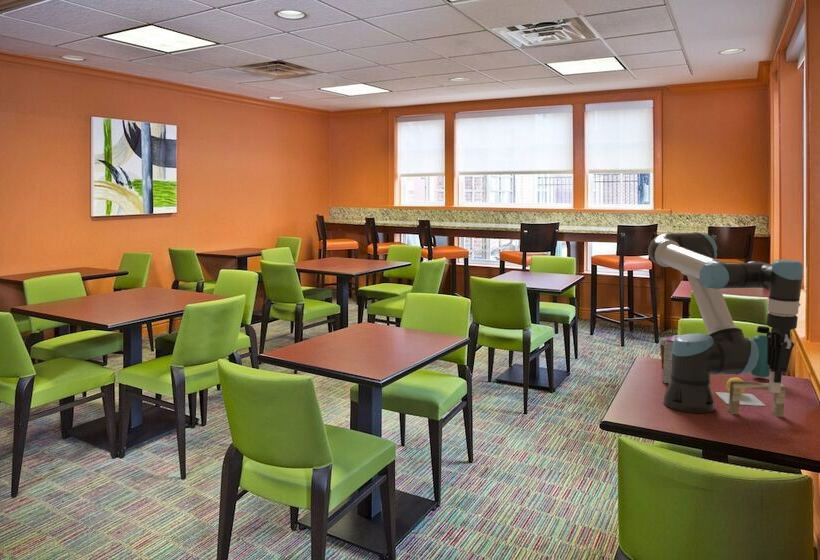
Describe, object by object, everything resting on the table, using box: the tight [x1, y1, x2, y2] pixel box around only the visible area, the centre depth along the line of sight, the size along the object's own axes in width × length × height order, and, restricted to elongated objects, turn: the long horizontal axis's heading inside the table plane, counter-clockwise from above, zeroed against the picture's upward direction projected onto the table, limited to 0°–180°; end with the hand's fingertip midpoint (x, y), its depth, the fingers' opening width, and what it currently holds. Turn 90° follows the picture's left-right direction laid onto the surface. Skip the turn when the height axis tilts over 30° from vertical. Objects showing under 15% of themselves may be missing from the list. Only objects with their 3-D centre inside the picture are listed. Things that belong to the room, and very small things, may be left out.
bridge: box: [728, 381, 787, 418], centre depth 192 cm, size 3×15×10 cm, turn 80°
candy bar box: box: [661, 334, 681, 385], centre depth 226 cm, size 11×5×16 cm, turn 138°
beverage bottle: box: [750, 325, 771, 378], centre depth 229 cm, size 6×7×20 cm
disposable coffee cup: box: [659, 336, 671, 369], centre depth 242 cm, size 10×10×12 cm
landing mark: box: [714, 391, 767, 407], centre depth 206 cm, size 12×12×1 cm
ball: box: [725, 376, 746, 394], centre depth 211 cm, size 6×6×6 cm
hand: (774, 391), depth 179 cm, fingers closed
